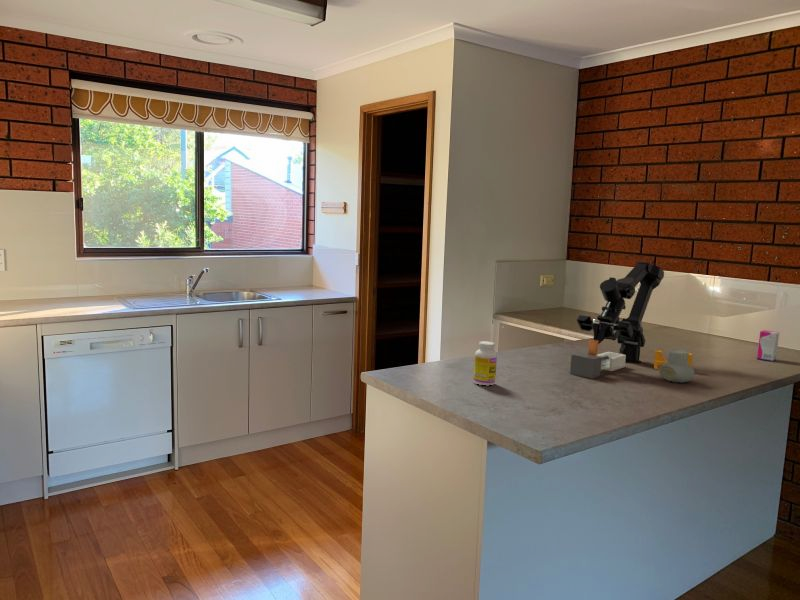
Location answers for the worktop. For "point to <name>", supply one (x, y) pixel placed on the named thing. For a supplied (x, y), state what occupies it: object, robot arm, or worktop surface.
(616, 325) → the robot arm
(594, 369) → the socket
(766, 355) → the supplement box
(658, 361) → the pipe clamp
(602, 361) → the tube
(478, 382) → the supplement bottle
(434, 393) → the worktop surface
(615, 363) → the open tray
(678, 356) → the air freshener
